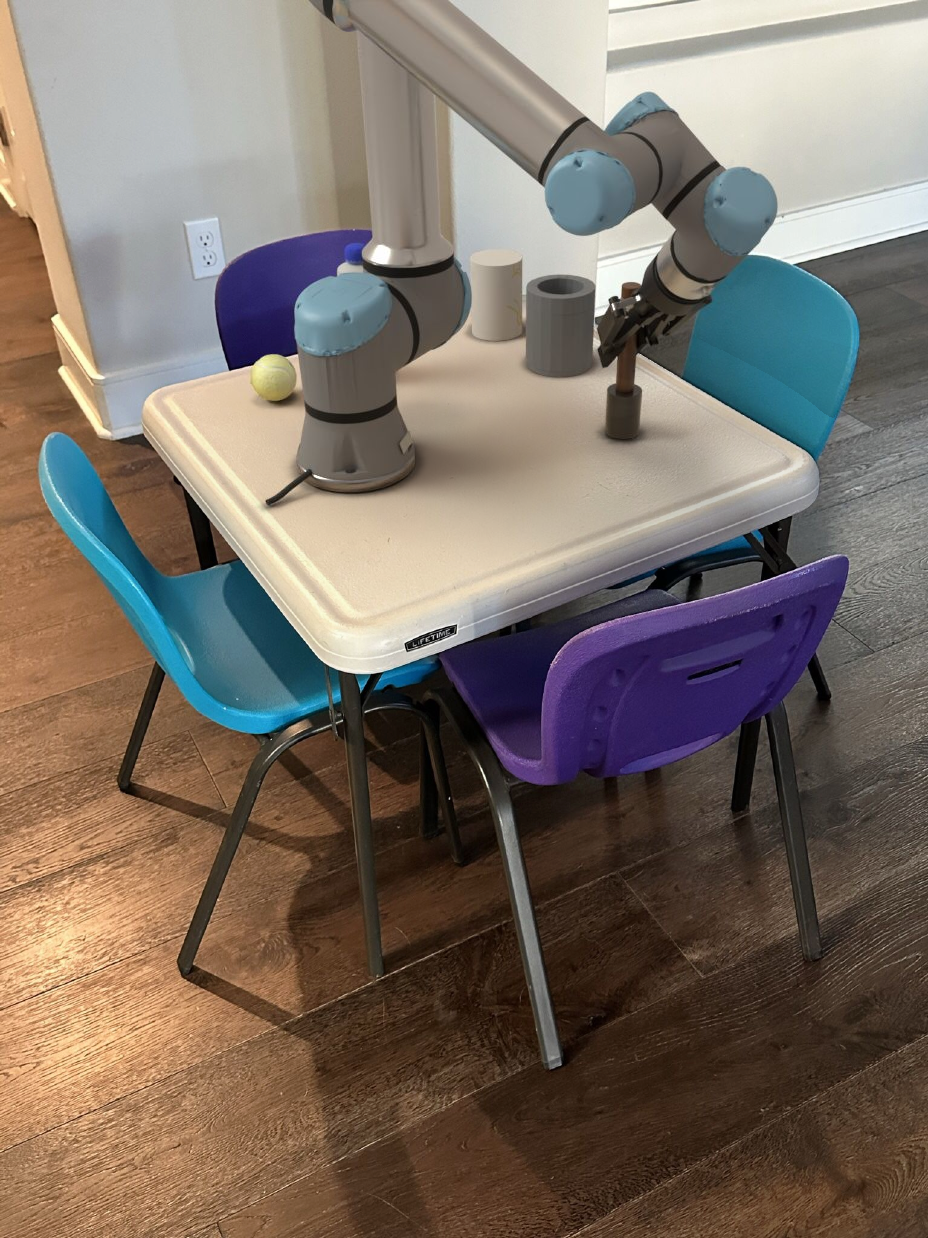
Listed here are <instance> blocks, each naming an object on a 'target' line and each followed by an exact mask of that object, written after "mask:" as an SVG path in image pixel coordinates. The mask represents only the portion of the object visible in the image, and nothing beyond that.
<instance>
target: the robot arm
mask: <svg viewBox="0 0 928 1238" xmlns="http://www.w3.org/2000/svg"><path fill="white" fill-rule="evenodd" d="M308 2H309V3H310V4H311V5H312V6H313V7H314V8H315V9H316V10H317V11H318V12H319V13H320V14H322V16H324V17H325V18H326V19H328V20H329V21H330V22H331V23H332V24H334V25H335V26H336V27H337V28H338V29H339V30H341V31H342V32H345V33H351V32H355V31H356V41H357V52H358V53H357V55H358V66H359V77H360V78H359V79H360V93H361V104H362V117H363V131H364V143H365V144H364V145H365V155H366V157H365V158H366V169H367V182H368V183H367V184H368V194H369V195H368V196H369V207H370V209H369V210H370V221H371V222H370V223H371V234H372V235H371V236H372V238H371V239H370V241H368V242H367V243H366V244H365V245H366V246H365V247H364V248H363V250H362V262H363V273H360V272H351V273H342V274H339V276H337V275H336V276H333V275H329V276H327V277H323V278H321V279H318V280H317V281H315V282H313V283H311V284H310V285H308V286H307V287H305V288H304V289H303V290H302V292H301V293H300V294H299V296H298V297H297V299H296V301H295V305H294V326H293V328H294V329H293V331H294V339H295V341H296V350H297V357H298V365H299V371H300V380H301V381H300V382H301V389H302V395H303V402H304V411H305V413H304V420H303V424H302V430H301V435H300V442H299V444H298V448H297V451H296V465H297V472H298V474H299V476H297V477H296V478H294V480H292V481H290V482H289V483H288V484H287V485H286V486H285V487H283V488H282V489H281V490H280V491H278V493H276V494H275V495H273V496H271V497H269V498H267V499H265V504H266V505H267V506H270V505H273V504H275V503H278V502H279V501H280V500H281V499H283V498H284V497H285V496H287V495H288V494H290V492H292V490H294V489H295V488H297V487H298V486H300V484H302V483H303V482H304V481H305V482H306V483H308V484H309V485H311V486H313V487H316V488H318V489H322V490H326V491H330V492H336V493H337V492H338V493H362V492H370V491H374V490H375V491H376V490H379V489H383V488H386V487H389V486H391V485H394V484H396V483H398V482H400V481H401V480H403V479H404V478H406V477H407V476H408V475H409V474H410V473H411V472H412V471H413V469H414V468H415V465H416V455H415V454H416V451H415V450H416V449H415V445H414V439H413V436H412V433H411V431H410V430H408V428H407V425H406V423H405V421H404V418H403V415H402V414H401V411H400V408H399V405H398V392H397V378H396V377H397V376H396V375H397V372H398V371H399V370H401V369H402V368H405V367H406V366H408V365H409V364H411V363H413V362H414V361H415V360H417V359H419V358H420V357H422V356H424V355H426V354H427V353H429V352H431V351H433V350H437V349H439V348H440V347H443V346H444V345H445V344H446V343H448V342H449V341H450V340H451V339H452V338H453V337H454V336H455V335H457V333H459V332H461V331H460V330H461V329H463V327H464V325H465V324H466V322H467V321H468V318H469V315H470V312H471V303H472V291H471V280H470V278H469V276H468V272H466V271H464V270H463V269H462V263H461V262H460V261H459V260H458V258H456V257H455V253H454V252H455V251H454V246H453V244H452V243H451V242H450V241H448V240H447V239H446V238H445V237H444V236H443V234H442V233H441V231H442V230H441V207H440V206H441V205H440V184H439V158H438V157H439V155H438V136H437V135H438V134H437V133H438V132H437V113H436V112H437V111H436V110H437V109H436V97H437V98H438V99H439V100H440V101H441V102H442V103H444V104H445V105H446V106H447V107H448V108H449V109H451V110H452V111H453V112H454V113H456V114H457V115H458V116H459V117H460V118H461V119H462V120H464V121H465V122H466V123H467V124H469V125H470V126H471V127H472V128H473V129H474V130H475V131H477V132H478V133H479V134H480V135H481V136H482V137H484V138H485V139H486V140H487V141H488V142H490V144H492V145H493V146H494V147H496V148H497V149H498V150H499V151H501V152H502V153H503V154H504V155H505V156H507V157H508V158H509V159H510V160H511V161H512V162H514V163H515V164H516V165H517V166H518V167H520V168H521V169H522V170H523V171H524V172H526V173H527V174H528V175H529V176H530V177H531V178H533V179H534V180H535V181H536V182H537V183H538V184H539V185H541V186H542V187H543V188H544V202H545V205H546V207H547V209H548V211H549V214H550V216H551V217H552V218H551V219H552V220H553V222H554V223H555V224H556V225H557V226H558V227H559V228H560V229H561V230H563V231H565V232H566V233H568V234H571V235H574V236H579V237H589V236H592V235H595V234H599V233H601V232H603V231H606V230H611V229H613V228H614V227H616V226H619V225H620V224H621V223H622V222H623V221H624V220H626V218H628V217H629V216H631V215H633V214H634V213H636V212H637V211H640V210H641V209H644V208H645V207H647V206H649V205H652V206H653V207H654V208H655V210H657V212H658V213H659V214H660V215H661V216H662V217H663V218H664V219H665V221H667V222H668V223H669V224H670V225H671V226H672V227H673V229H675V230H674V231H673V233H672V234H671V235H670V236H669V238H668V239H667V240H666V242H664V244H663V245H662V246H661V249H660V250H659V251H658V252H657V253H656V255H655V256H654V257H653V259H652V260H651V261H650V262H649V264H647V267H646V268H645V271H644V274H643V277H642V281H641V286H640V287H639V288H638V289H636V290H634V291H633V292H632V294H631V297H630V298H627V299H625V300H623V298H621V297H620V298H619V295H612V296H610V297H609V298H608V301H607V302H608V304H609V305H608V307H607V309H606V310H605V313H604V314H603V316H602V318H601V319H600V322H599V324H598V326H597V327H596V333H597V335H598V338H599V342H600V343H599V346H598V347H597V349H596V351H597V355H598V357H599V361H600V364H601V367H602V369H606V368H608V367H609V366H610V365H611V364H612V363H613V362H614V361H615V359H617V356H618V355H619V353H620V352H621V351H622V350H623V349H624V348H625V344H624V342H625V341H626V340H627V339H628V338H629V337H630V336H631V335H633V334H634V333H635V332H636V331H637V330H638V339H637V353H636V356H637V355H638V354H639V353H640V352H641V351H642V350H643V349H644V348H645V347H646V346H647V345H649V347H651V348H652V347H657V346H658V345H659V344H660V342H659V336H660V335H661V336H662V337H663V338H665V337H667V338H668V337H670V336H671V335H672V334H674V333H675V332H676V331H677V330H678V329H679V328H681V327H682V326H683V325H684V324H685V323H686V322H687V321H689V319H691V318H693V316H694V315H695V314H696V313H698V312H699V311H700V310H701V309H703V308H705V307H707V306H708V305H710V304H711V303H713V298H712V295H711V294H712V292H713V291H714V290H715V289H716V288H717V287H718V286H719V285H720V284H721V283H722V282H723V281H724V280H725V278H727V276H729V274H731V272H732V271H733V270H735V268H737V266H739V264H740V263H741V262H743V260H744V259H745V258H747V256H748V255H749V254H750V253H751V252H752V251H754V249H755V248H756V247H757V246H758V245H759V244H761V241H762V239H763V237H764V236H765V235H766V234H767V232H768V231H769V230H770V229H771V227H772V226H773V225H774V223H775V220H776V218H777V215H778V198H777V193H776V191H775V189H774V186H773V185H772V183H771V182H770V181H769V179H768V178H767V177H766V176H764V175H763V174H762V173H758V172H756V171H753V170H752V169H751V168H749V167H746V166H734V167H730V168H728V169H726V168H725V166H724V165H721V164H720V162H719V161H718V160H717V159H716V158H715V157H714V155H713V154H712V153H711V152H710V150H708V149H707V147H706V146H705V144H703V143H702V142H701V140H700V139H699V138H698V137H697V136H696V134H695V133H693V131H692V130H691V129H690V128H689V126H688V125H687V124H686V123H685V121H683V120H682V118H681V117H680V114H679V113H678V112H677V111H676V110H675V109H674V108H673V107H670V106H669V105H668V104H667V103H666V102H665V101H664V100H663V99H662V98H661V97H660V96H659V95H658V94H657V93H656V92H653V91H644V92H641V93H640V94H638V95H636V96H635V97H634V98H633V99H632V100H630V101H628V102H627V103H626V104H625V105H624V106H623V107H622V108H620V110H619V111H618V112H617V113H616V114H615V115H614V116H613V117H612V119H611V120H610V121H609V123H608V124H607V125H606V127H605V128H604V130H603V128H602V127H600V126H599V125H597V124H596V123H595V122H594V121H592V120H591V119H590V118H588V117H587V116H586V115H585V113H583V112H581V110H579V109H578V108H577V107H576V106H575V105H573V104H572V103H571V102H570V101H568V100H567V99H566V98H565V97H564V96H563V95H562V94H561V93H559V91H557V90H555V88H553V87H552V85H549V84H548V83H547V82H546V81H545V80H544V79H543V78H541V77H540V76H539V75H538V74H537V73H536V72H534V71H533V70H532V69H531V68H530V67H528V66H527V65H526V64H524V62H522V61H521V60H520V59H519V58H518V57H516V56H515V55H514V54H513V53H512V52H510V51H509V50H508V49H507V48H505V46H503V45H502V44H501V43H499V41H497V40H496V39H495V38H494V37H493V36H491V35H490V34H489V33H488V32H487V31H486V30H485V29H483V28H482V27H481V26H480V25H478V24H477V23H476V22H475V21H474V20H472V19H471V18H470V17H469V16H468V15H466V14H465V13H464V12H463V11H462V10H461V9H460V8H458V7H457V6H456V5H455V4H454V3H453V2H451V1H450V0H308Z"/></svg>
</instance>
